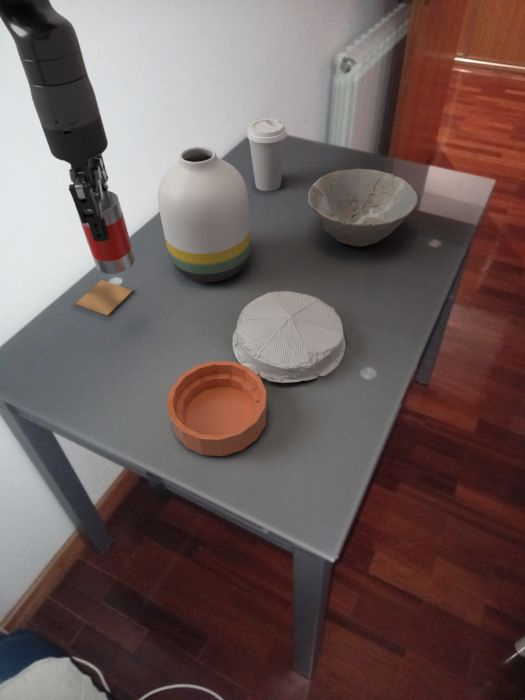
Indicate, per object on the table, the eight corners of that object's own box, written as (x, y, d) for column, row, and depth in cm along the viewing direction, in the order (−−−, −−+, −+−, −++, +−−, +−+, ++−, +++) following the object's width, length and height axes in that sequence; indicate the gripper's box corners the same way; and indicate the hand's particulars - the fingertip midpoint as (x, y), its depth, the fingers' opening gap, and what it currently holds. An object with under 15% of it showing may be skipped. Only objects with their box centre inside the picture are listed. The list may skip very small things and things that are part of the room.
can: (118, 278, 77) (99, 216, 69) (87, 267, 79) (65, 206, 71) (142, 256, 81) (127, 195, 73) (112, 246, 83) (94, 186, 75)
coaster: (108, 316, 93) (107, 314, 93) (75, 304, 96) (75, 303, 96) (133, 291, 98) (133, 290, 98) (102, 281, 101) (101, 279, 100)
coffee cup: (288, 193, 122) (289, 132, 112) (250, 195, 122) (247, 135, 111) (284, 174, 129) (284, 116, 118) (248, 177, 129) (245, 118, 118)
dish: (238, 473, 70) (236, 454, 66) (154, 435, 75) (148, 416, 71) (282, 399, 79) (282, 379, 75) (204, 369, 83) (200, 349, 80)
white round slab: (273, 292, 97) (272, 264, 92) (364, 331, 88) (369, 303, 83) (209, 355, 86) (204, 327, 81) (306, 406, 78) (307, 378, 73)
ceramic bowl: (411, 213, 115) (420, 173, 107) (403, 273, 100) (412, 231, 92) (318, 202, 119) (320, 162, 112) (296, 257, 104) (298, 216, 97)
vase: (264, 250, 106) (260, 140, 89) (231, 299, 96) (220, 185, 78) (195, 235, 111) (178, 128, 93) (156, 280, 100) (130, 168, 83)
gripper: (49, 95, 68) (84, 204, 80) (28, 141, 58) (73, 257, 70) (104, 91, 68) (131, 200, 80) (93, 135, 58) (126, 252, 70)
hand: (104, 226), depth 75 cm, fingers closed on can, 6 cm apart
